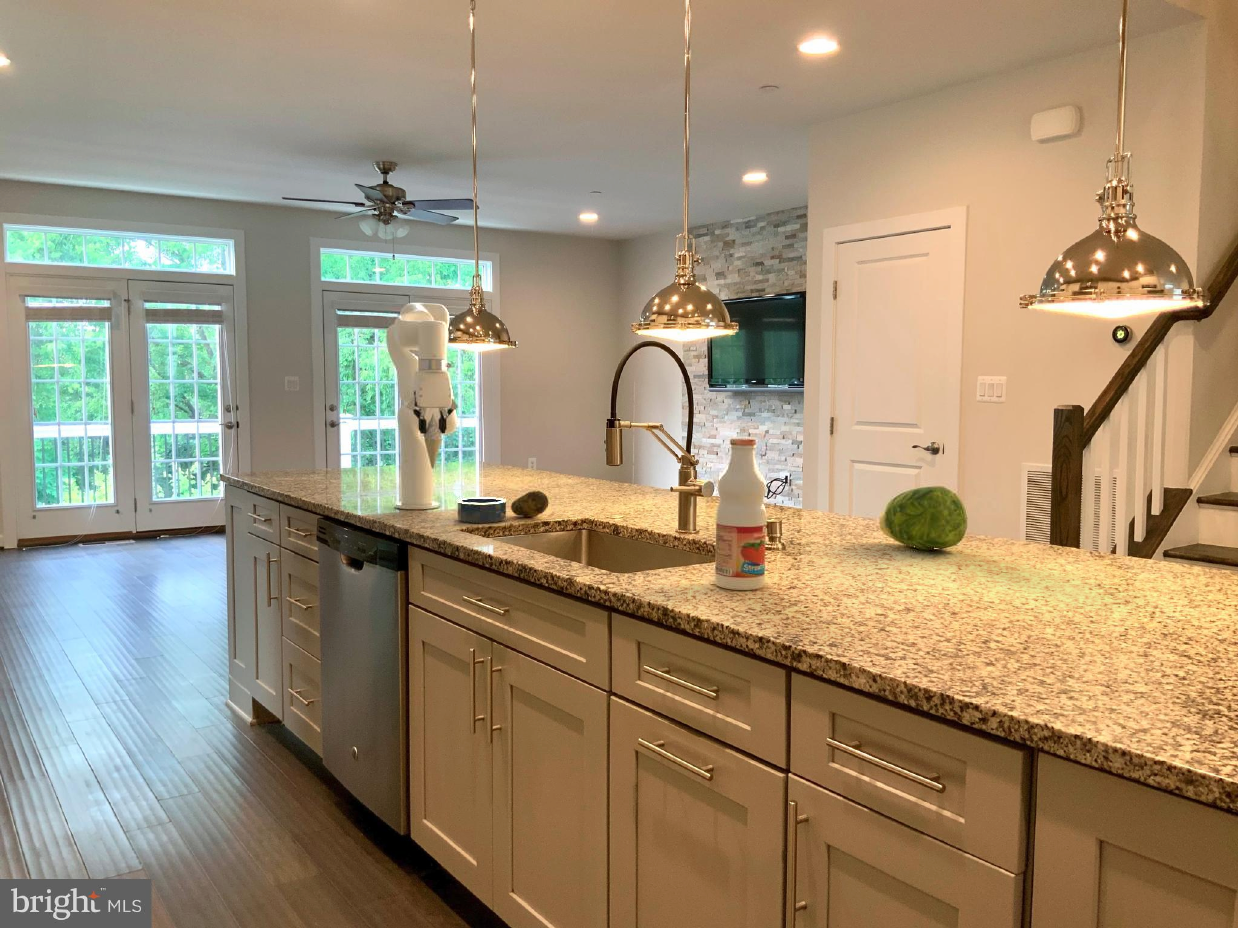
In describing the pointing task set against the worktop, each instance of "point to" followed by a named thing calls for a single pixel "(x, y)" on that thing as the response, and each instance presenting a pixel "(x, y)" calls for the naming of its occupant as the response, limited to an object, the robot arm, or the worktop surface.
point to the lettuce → (925, 518)
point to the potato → (530, 504)
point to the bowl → (481, 510)
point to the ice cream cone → (433, 440)
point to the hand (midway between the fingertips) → (432, 432)
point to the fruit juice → (741, 521)
